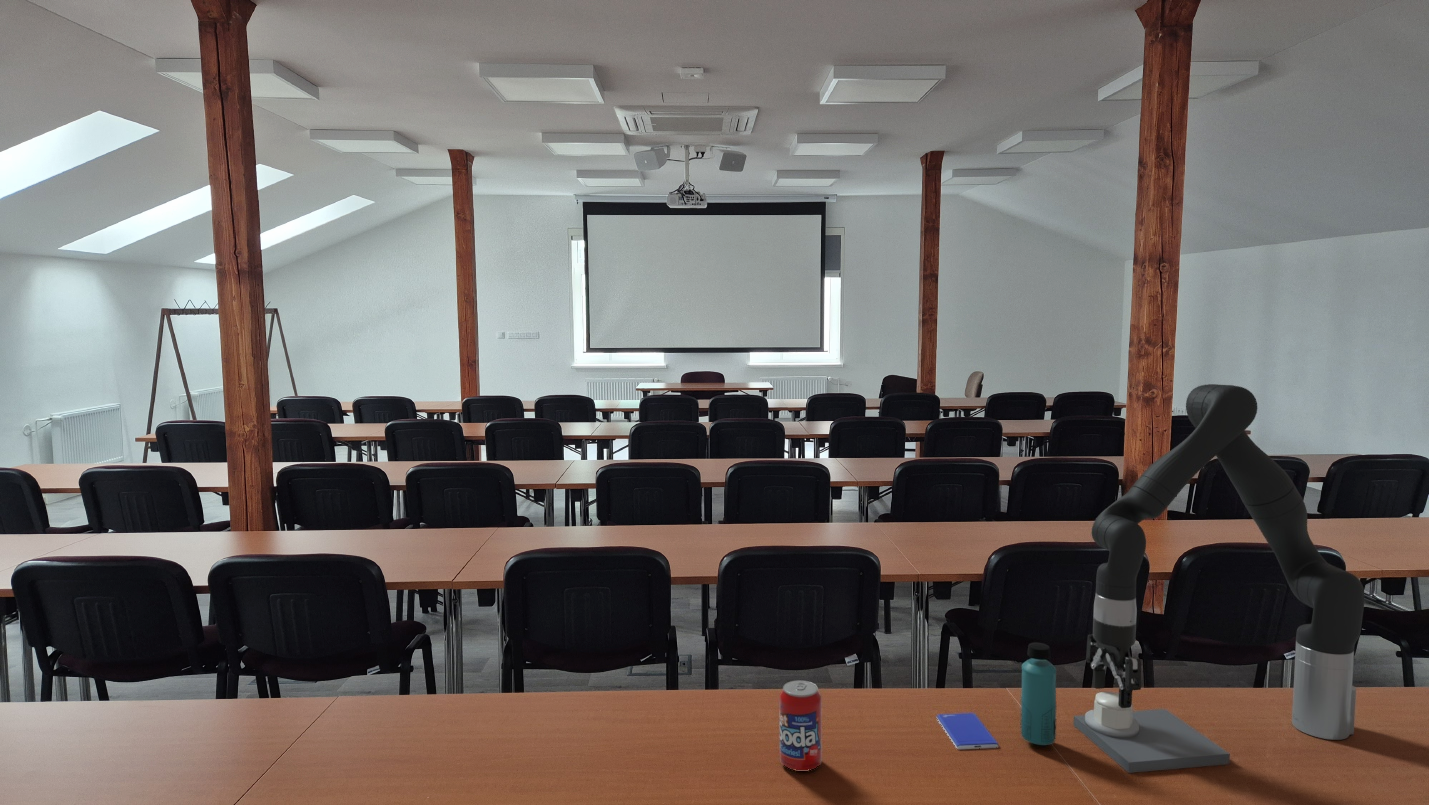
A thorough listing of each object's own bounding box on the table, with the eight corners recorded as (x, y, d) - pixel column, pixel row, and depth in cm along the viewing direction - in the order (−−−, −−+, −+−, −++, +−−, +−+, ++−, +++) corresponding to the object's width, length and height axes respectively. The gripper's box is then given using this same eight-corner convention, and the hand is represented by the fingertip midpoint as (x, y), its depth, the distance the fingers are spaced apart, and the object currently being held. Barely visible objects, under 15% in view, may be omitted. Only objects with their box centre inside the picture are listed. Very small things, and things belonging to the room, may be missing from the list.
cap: (1099, 710, 167) (1100, 688, 166) (1134, 719, 163) (1135, 697, 162) (1091, 722, 162) (1091, 700, 161) (1126, 732, 158) (1127, 709, 157)
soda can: (825, 757, 156) (825, 681, 155) (817, 778, 149) (816, 699, 148) (785, 750, 159) (785, 676, 158) (775, 771, 152) (774, 693, 150)
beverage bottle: (1059, 754, 156) (1061, 652, 154) (1022, 751, 157) (1024, 650, 155) (1052, 737, 162) (1054, 639, 160) (1016, 734, 164) (1018, 637, 162)
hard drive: (936, 714, 171) (957, 744, 158) (975, 712, 171) (998, 742, 159) (936, 721, 171) (957, 752, 158) (974, 719, 171) (998, 750, 159)
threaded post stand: (1164, 718, 169) (1165, 688, 169) (1229, 764, 152) (1230, 730, 151) (1073, 725, 167) (1074, 695, 166) (1128, 773, 149) (1129, 739, 149)
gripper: (1156, 630, 154) (1152, 713, 155) (1110, 604, 168) (1107, 680, 169) (1118, 632, 153) (1115, 715, 154) (1076, 606, 167) (1073, 682, 169)
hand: (1111, 697), depth 162 cm, fingers open, 8 cm apart
